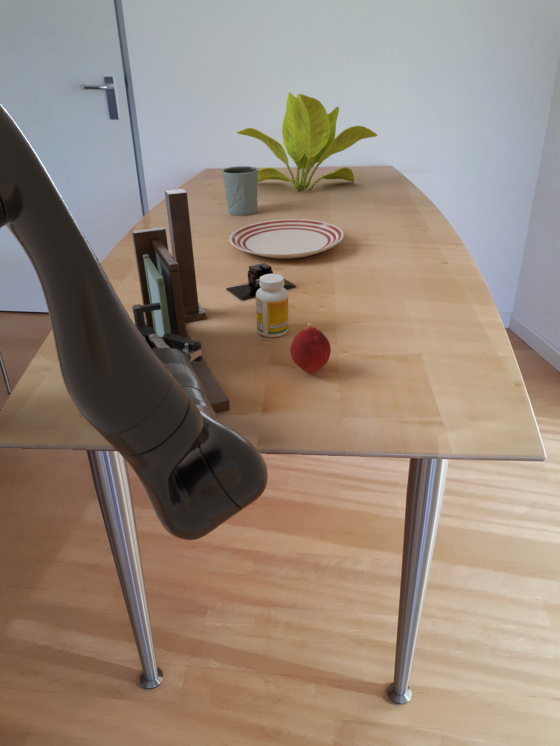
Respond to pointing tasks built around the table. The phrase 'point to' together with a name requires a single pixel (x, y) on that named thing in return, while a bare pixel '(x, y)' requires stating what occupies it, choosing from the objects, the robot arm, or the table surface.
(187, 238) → the end post
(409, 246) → the table surface
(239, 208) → the embossed green cup
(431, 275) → the table surface
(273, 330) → the supplement bottle
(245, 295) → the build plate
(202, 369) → the window frame
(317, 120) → the artificial plant
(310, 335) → the onion
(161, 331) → the window sash
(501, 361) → the table surface
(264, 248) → the dinner plate
